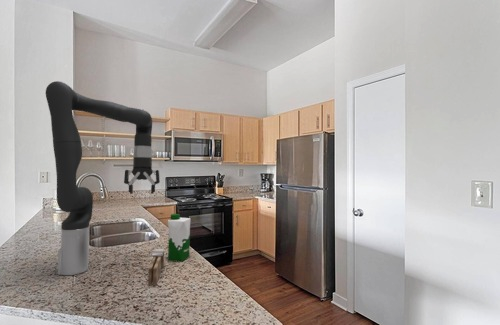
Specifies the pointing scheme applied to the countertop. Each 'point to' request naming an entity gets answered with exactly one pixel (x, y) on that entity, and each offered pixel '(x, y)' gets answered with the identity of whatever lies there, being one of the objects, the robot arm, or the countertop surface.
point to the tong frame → (150, 271)
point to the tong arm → (156, 270)
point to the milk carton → (178, 238)
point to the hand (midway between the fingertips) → (142, 193)
